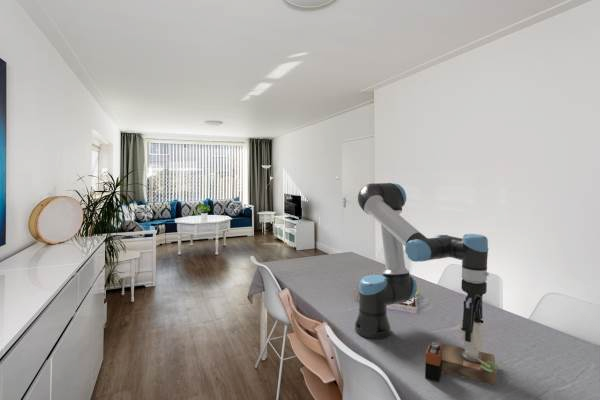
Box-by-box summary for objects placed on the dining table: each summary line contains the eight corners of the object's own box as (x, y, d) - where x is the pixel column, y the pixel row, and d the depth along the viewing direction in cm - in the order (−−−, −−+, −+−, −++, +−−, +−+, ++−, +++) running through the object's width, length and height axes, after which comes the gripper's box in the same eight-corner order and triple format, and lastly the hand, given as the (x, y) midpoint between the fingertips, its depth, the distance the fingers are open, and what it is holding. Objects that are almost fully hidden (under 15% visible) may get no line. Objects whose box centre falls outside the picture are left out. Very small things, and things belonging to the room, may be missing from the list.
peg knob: (482, 370, 102) (483, 334, 102) (456, 354, 112) (457, 321, 112) (496, 367, 104) (497, 331, 104) (469, 351, 114) (470, 318, 113)
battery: (441, 372, 108) (442, 344, 108) (439, 383, 103) (439, 353, 102) (428, 368, 111) (428, 340, 110) (424, 379, 105) (425, 349, 104)
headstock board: (428, 368, 110) (429, 357, 110) (432, 351, 122) (433, 340, 121) (501, 387, 100) (502, 374, 100) (498, 366, 112) (499, 355, 111)
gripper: (477, 290, 98) (475, 361, 100) (493, 275, 113) (491, 337, 115) (452, 285, 103) (450, 352, 105) (470, 271, 118) (469, 331, 120)
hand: (472, 344), depth 110 cm, fingers open, 8 cm apart
